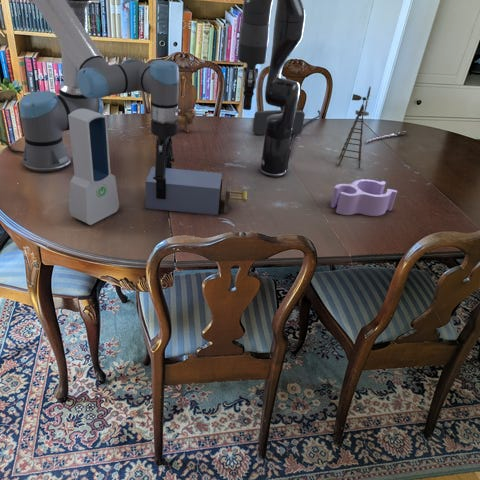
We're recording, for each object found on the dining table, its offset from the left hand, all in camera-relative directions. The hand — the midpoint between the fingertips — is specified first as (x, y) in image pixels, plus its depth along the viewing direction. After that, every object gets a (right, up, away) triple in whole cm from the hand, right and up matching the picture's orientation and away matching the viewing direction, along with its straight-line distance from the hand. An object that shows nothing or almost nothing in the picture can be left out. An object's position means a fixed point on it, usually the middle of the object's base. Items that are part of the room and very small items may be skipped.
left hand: (164, 189), depth 143 cm
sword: (+91, +31, +71) cm, 120 cm away
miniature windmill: (+66, +15, +42) cm, 80 cm away
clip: (+63, -5, +11) cm, 64 cm away
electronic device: (-19, -8, -8) cm, 22 cm away
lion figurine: (-2, +31, +55) cm, 64 cm away
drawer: (+12, -4, +2) cm, 13 cm away
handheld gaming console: (+40, +32, +63) cm, 81 cm away
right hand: (+25, +21, -14) cm, 35 cm away
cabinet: (+6, -4, +2) cm, 7 cm away
